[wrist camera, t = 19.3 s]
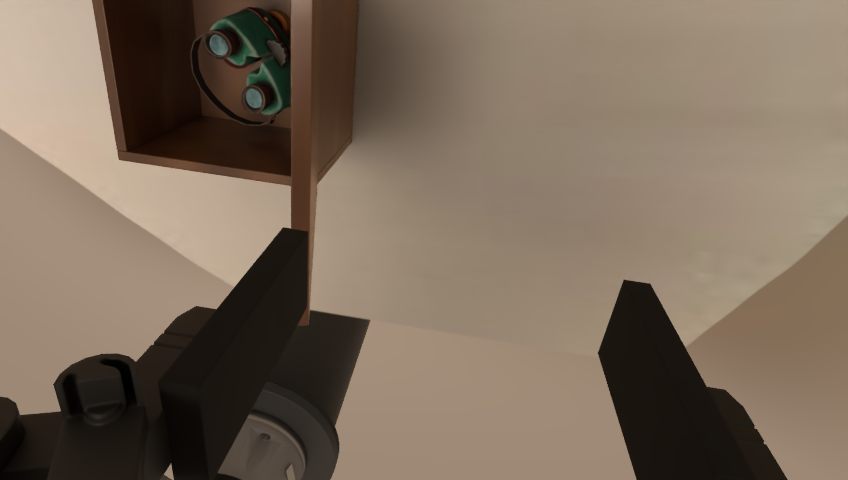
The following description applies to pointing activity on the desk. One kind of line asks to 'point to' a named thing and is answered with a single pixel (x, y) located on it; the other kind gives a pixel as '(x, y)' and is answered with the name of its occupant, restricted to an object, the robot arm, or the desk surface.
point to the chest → (214, 89)
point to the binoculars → (251, 60)
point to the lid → (305, 121)
